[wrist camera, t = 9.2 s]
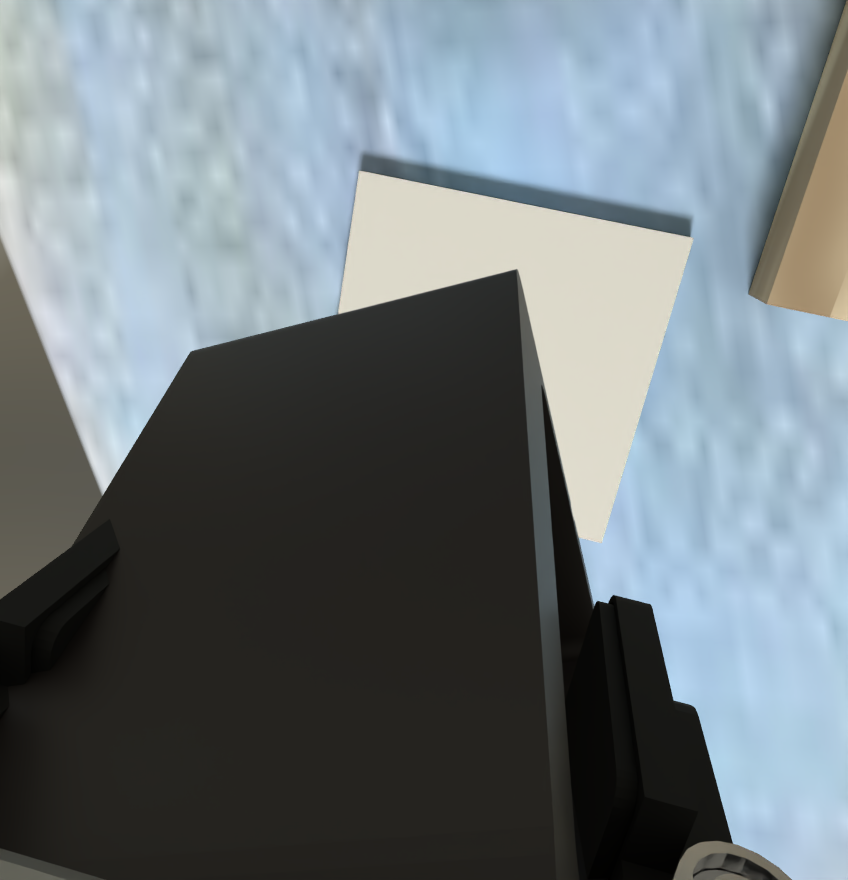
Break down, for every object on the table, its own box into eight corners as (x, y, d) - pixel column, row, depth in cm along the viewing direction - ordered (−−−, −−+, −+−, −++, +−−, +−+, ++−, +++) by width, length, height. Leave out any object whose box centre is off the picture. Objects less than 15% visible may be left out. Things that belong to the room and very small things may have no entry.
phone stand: (200, 344, 14) (-1355, 1023, 3) (521, 266, 12) (190, 987, 1) (337, 746, 16) (-156, 1998, 5) (619, 718, 15) (814, 2370, 4)
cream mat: (690, 237, 26) (693, 237, 26) (600, 536, 30) (601, 543, 30) (363, 171, 28) (359, 170, 27) (318, 468, 32) (314, 473, 31)
